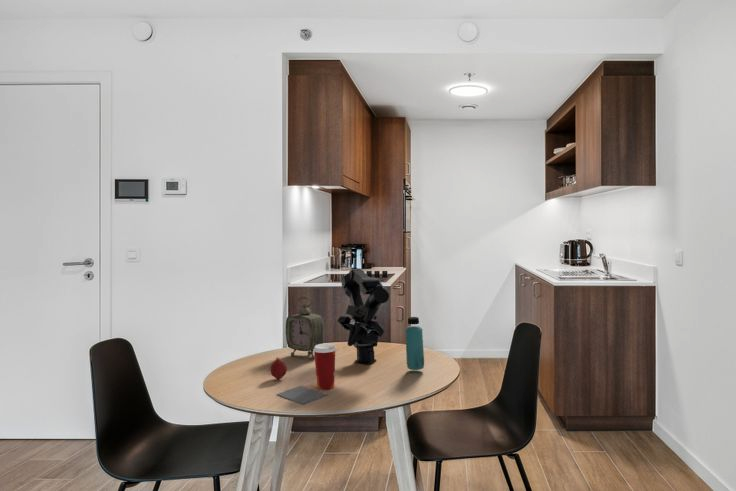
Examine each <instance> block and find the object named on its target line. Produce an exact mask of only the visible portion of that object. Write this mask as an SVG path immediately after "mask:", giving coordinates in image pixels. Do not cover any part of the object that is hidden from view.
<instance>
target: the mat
mask: <svg viewBox="0 0 736 491" xmlns="http://www.w3.org/2000/svg"><path fill="white" fill-rule="evenodd" d="M276 395H277V396H278V397H281V398H285V399H287V400H290V401H292V402H295V403H298V404H301V405H305V404H308V403H311V402H313V401H315V400H318V399H321V398H323V397H326V396H327V395H328V394H327V393H324V392H322V391H320V390H319V391H318V390H315V389H312V388H309V387H306V386H304V385H299V386H296V387H293V388H290V389H286V390H284V391H281V392H279V393H276Z"/></svg>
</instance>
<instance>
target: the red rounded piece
mask: <svg viewBox="0 0 736 491" xmlns="http://www.w3.org/2000/svg"><path fill="white" fill-rule="evenodd" d="M287 369H288V368H287V365H286V363H285V362H284V361H283V360H282V359H281V358H279V357H277V356H276V358H275V360H274V361H273V362H272V363H271V364H270V368H269V373H270V374H271V376H272V377H274V378H275V379H276V380H280V379H282V378H283V377H284V376H285V375H286V374H287V371H288V370H287Z"/></svg>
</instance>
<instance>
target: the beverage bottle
mask: <svg viewBox="0 0 736 491" xmlns="http://www.w3.org/2000/svg"><path fill="white" fill-rule="evenodd" d="M419 319H420V318H419V317H417V316H410V317H408V318H407V324H408V326H407V327H406V328H405V330H404V331H405V351H406V352H405V353H406V355H405V356H406V366H407V369H409V370H411V371H419V370H423V369H424V368H425V352H424V340H423V339H424V338H423V336H424V335H423V328H422V327H420V326H419V324H420V320H419Z"/></svg>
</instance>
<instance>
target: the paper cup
mask: <svg viewBox="0 0 736 491" xmlns="http://www.w3.org/2000/svg"><path fill="white" fill-rule="evenodd" d="M336 351H337V348H336V345H335V344H333V343H326V342H325V343H323V344H318V345H316V346H315V347H314V349H313V355H314V357H315V358H314V365H315V375H316V377H315V378H316V387H317V389H318V390H322V391H327V390H332V389H334V388H335V375H336V374H335V372H336V371H335V370H336V369H335V368H336Z"/></svg>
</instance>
